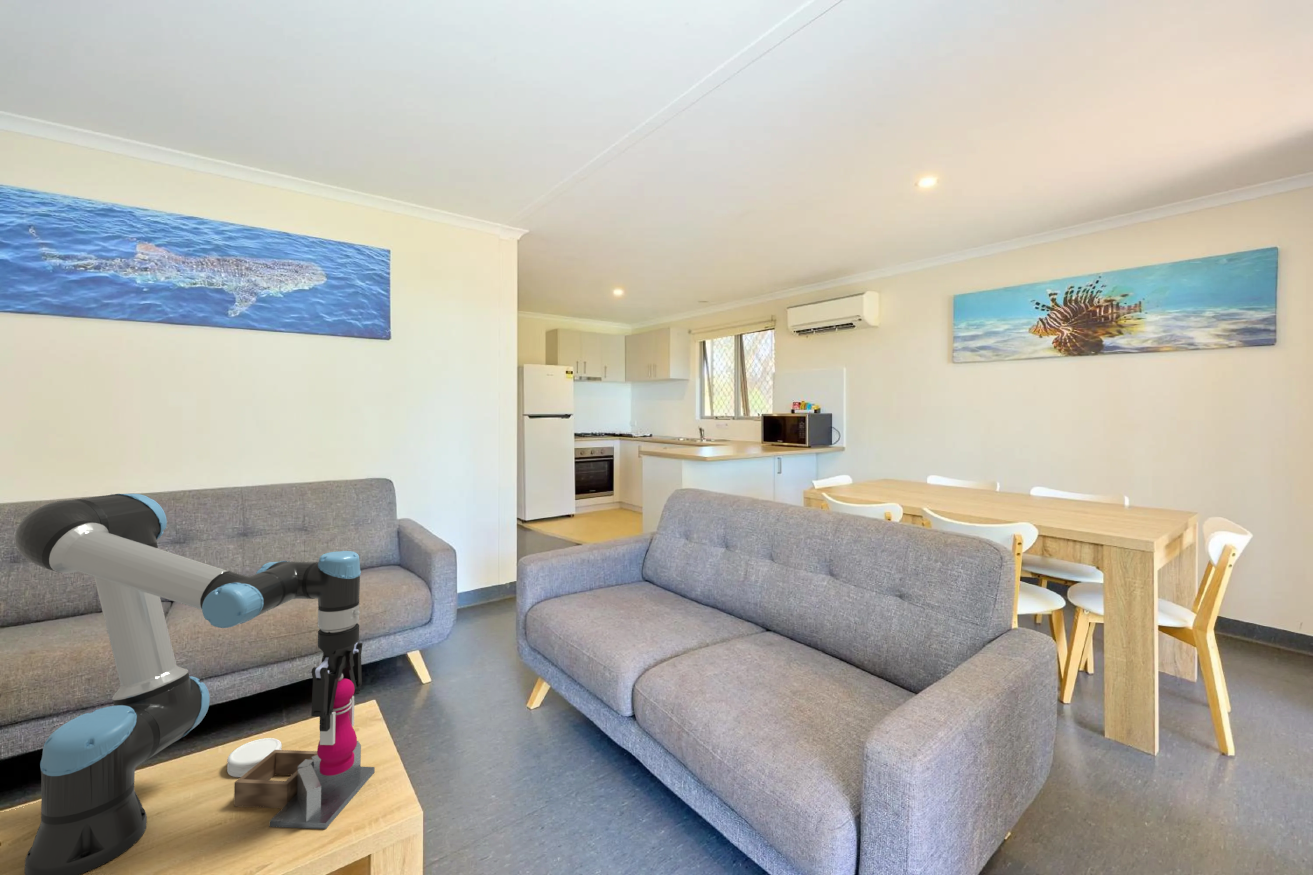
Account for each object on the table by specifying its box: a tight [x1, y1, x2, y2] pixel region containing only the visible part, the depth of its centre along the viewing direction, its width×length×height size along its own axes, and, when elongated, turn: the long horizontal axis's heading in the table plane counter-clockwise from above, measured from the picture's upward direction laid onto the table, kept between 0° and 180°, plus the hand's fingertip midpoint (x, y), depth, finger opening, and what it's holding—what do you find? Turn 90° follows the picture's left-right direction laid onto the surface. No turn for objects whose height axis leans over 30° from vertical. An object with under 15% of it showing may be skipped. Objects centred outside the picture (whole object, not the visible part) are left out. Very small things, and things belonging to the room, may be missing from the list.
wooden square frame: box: [233, 749, 317, 809], centre depth 112 cm, size 11×11×5 cm
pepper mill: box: [316, 674, 358, 776], centre depth 110 cm, size 7×7×20 cm
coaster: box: [226, 737, 283, 778], centre depth 121 cm, size 10×10×4 cm
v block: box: [269, 740, 376, 830], centre depth 110 cm, size 17×11×7 cm, turn 179°
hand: (337, 734), depth 110 cm, fingers closed on pepper mill, 6 cm apart
